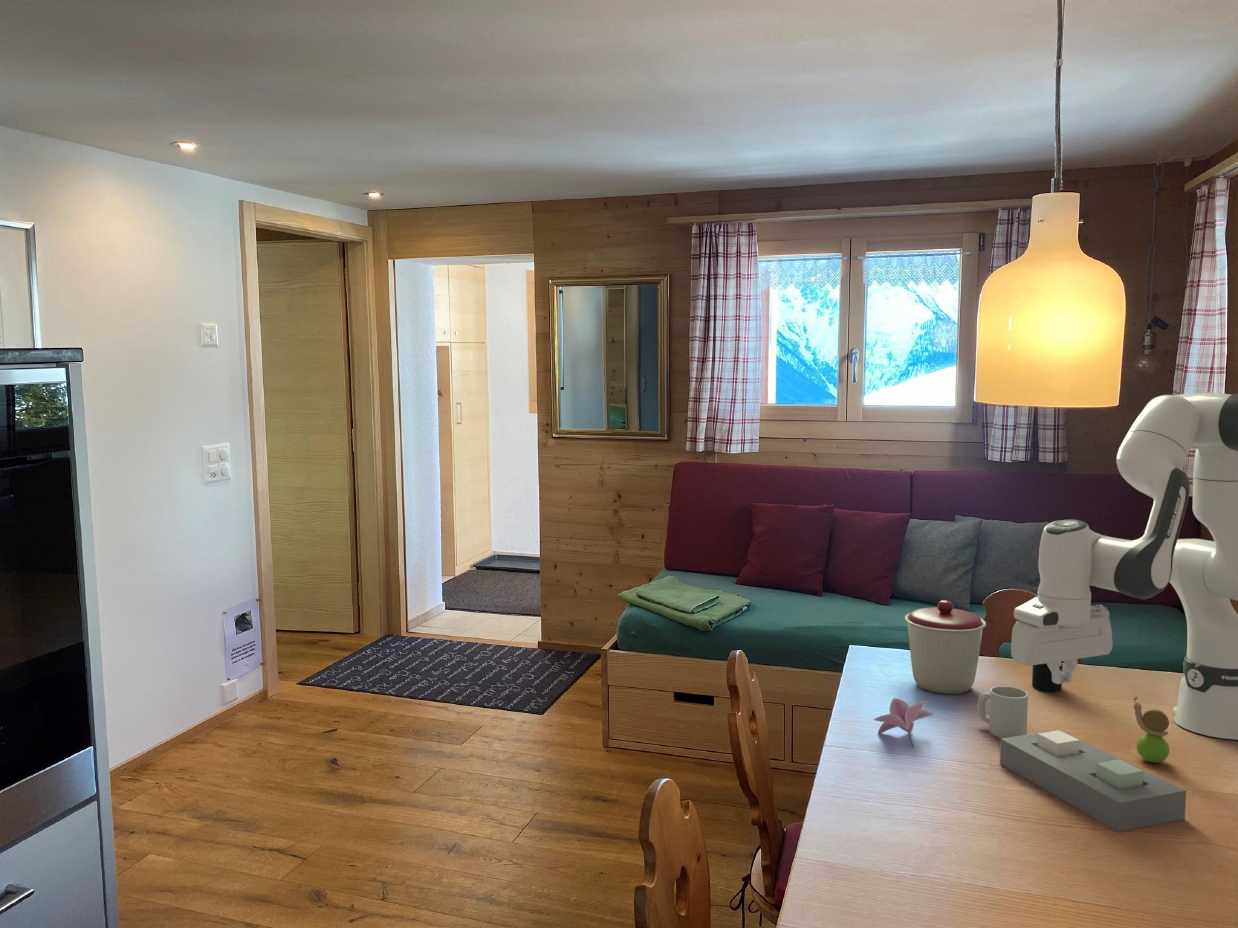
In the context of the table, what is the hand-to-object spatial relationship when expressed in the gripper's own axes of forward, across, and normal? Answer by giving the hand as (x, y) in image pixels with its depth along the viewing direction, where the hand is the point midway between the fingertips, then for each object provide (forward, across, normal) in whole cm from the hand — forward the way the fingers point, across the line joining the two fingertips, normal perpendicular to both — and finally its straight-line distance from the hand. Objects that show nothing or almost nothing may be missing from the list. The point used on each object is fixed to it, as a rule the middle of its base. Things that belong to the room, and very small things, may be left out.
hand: (1061, 682), depth 172 cm
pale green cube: (+15, 0, +14) cm, 21 cm away
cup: (+18, -4, -20) cm, 27 cm away
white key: (+15, 0, 0) cm, 15 cm away
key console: (+18, 0, +7) cm, 19 cm away
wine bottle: (+18, -32, -39) cm, 54 cm away
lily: (+18, +18, -23) cm, 34 cm away
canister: (+18, -10, -47) cm, 51 cm away
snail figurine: (+18, -20, +1) cm, 27 cm away
